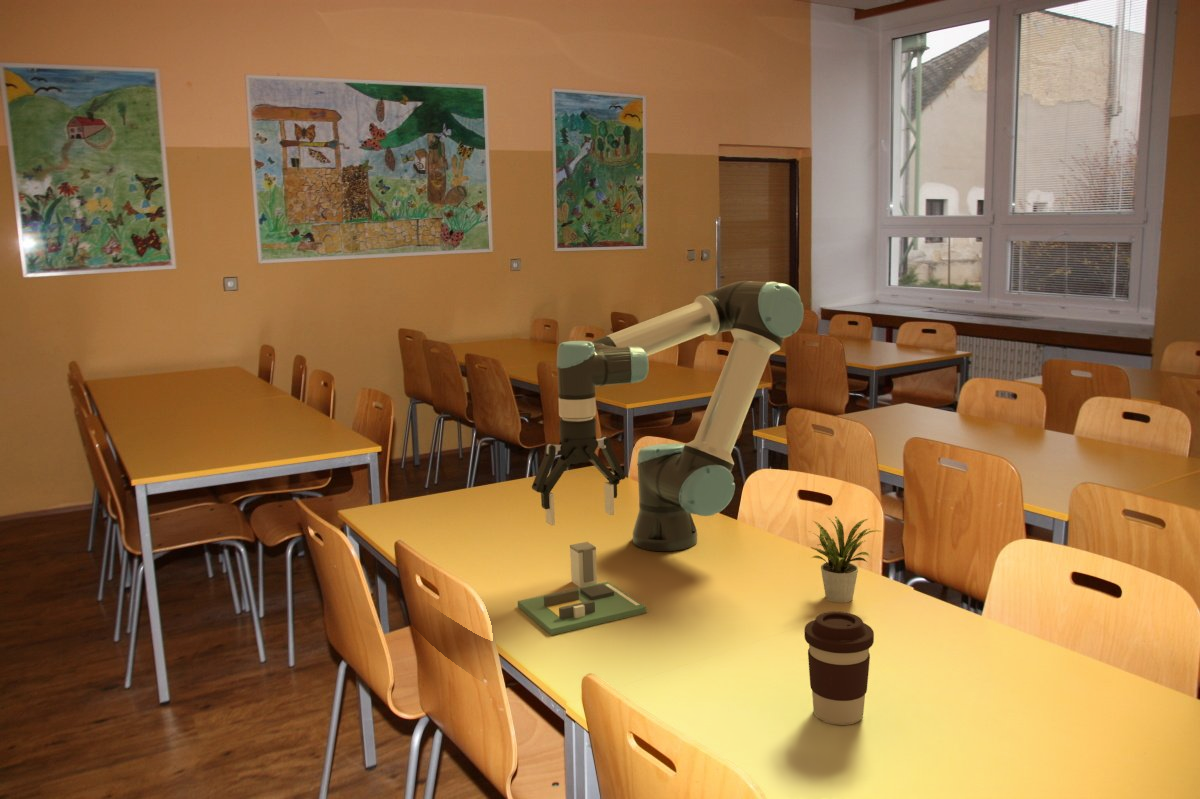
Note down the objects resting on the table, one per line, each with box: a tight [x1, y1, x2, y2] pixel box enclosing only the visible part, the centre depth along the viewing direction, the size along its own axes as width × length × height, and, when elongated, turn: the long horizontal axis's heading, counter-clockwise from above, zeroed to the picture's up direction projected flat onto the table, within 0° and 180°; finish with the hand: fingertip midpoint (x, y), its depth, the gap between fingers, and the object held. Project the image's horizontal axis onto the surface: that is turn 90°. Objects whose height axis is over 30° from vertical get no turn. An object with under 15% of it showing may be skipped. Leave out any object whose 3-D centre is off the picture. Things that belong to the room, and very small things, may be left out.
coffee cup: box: [804, 610, 875, 726], centre depth 144 cm, size 10×10×15 cm
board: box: [517, 581, 647, 636], centre depth 189 cm, size 20×16×3 cm
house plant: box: [807, 515, 881, 604], centre depth 189 cm, size 14×14×16 cm
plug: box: [569, 541, 598, 588], centre depth 203 cm, size 4×4×8 cm
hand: (580, 518), depth 201 cm, fingers open, 13 cm apart
